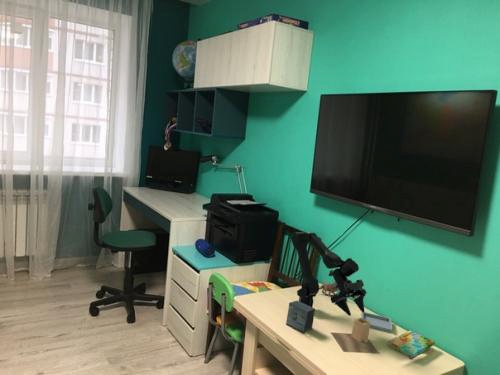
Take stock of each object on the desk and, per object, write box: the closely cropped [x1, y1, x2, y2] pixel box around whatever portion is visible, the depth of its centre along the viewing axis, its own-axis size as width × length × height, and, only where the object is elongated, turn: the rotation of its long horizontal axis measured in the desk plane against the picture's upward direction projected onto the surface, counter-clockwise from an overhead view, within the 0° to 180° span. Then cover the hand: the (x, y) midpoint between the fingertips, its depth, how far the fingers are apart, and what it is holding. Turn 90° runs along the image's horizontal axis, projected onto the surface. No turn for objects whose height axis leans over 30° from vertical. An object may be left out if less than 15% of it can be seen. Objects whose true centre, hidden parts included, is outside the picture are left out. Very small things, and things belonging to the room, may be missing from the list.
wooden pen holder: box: [351, 317, 371, 343], centre depth 179 cm, size 7×5×8 cm
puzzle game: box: [387, 330, 436, 360], centre depth 178 cm, size 12×5×20 cm
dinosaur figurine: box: [319, 279, 339, 298], centre depth 230 cm, size 14×6×9 cm, turn 75°
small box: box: [285, 300, 316, 335], centre depth 184 cm, size 11×6×10 cm, turn 47°
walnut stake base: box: [330, 332, 381, 355], centre depth 175 cm, size 16×16×5 cm
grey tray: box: [360, 311, 393, 334], centre depth 198 cm, size 14×14×2 cm
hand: (357, 313), depth 181 cm, fingers open, 9 cm apart
